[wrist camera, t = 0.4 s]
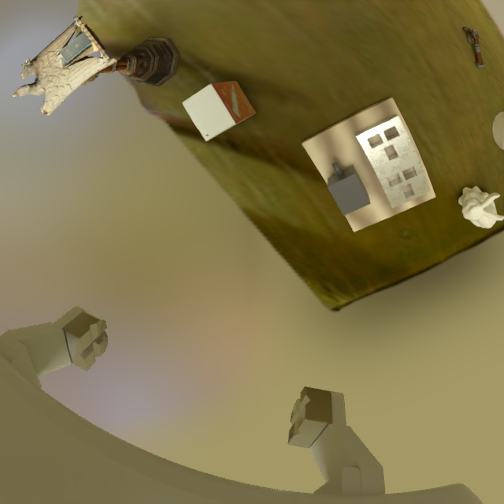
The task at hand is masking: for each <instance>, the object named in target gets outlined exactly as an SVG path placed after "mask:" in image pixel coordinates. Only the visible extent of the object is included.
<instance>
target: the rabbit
mask: <svg viewBox="0 0 504 504" xmlns="http://www.w3.org/2000/svg"><path fill="white" fill-rule="evenodd" d="M499 196H500V195H499V194H498V193H492V194H488V193H487V192H481V190H480V189H479V188H478V187H477V186H474V187H473V188H472V189H471V188H468V187H465V188H464V189H463V195H462V196H461V197H460V198H459V200H458V203H459V204H460V205H462V206H463V209H462V213H463V216H464V218H465V219H469V220H470V221H471V222H472V223H473V224H475V225H476V226H479V227H482V228H491V227H492V226H493V225H494V224H495V222H496V220H502V219H503V218H504V216H500V215H497V212H496V208H495V204H494V202H493V200H494V199H496V198H497V197H499Z"/></svg>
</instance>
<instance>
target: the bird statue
mask: <svg viewBox="0 0 504 504" xmlns="http://www.w3.org/2000/svg"><path fill="white" fill-rule="evenodd" d="M82 17H83V16H81V17H79V18H78V17H77V16H75V17H74V19H75V20H76V21H75V22H74V23H72V24H71V25H70V27H68V28H67V29H66V30H65V31H64V32H63V33H62V34H61V35H59V36H58V37H57V38H56V39H55V40H54V41H52V42H51V43H50V44H49V45H48V46H47V47H46V48H45V49H44V50H42V52H40V53H39V55H37V56H36V57H35V58H34V59H33V60H32V61H30V59H27V60H26V62H25V63H24V64H22V66H24V69H23V70H22V72H21V75H22V78H23V79H25V78H26V77H27V76H28V75H34V76H35V77H36V79H35V82H34V83H32V84H27V85H24V86H21V87H20V88H18V89H17V91H16V92H15V94H14V95H13V97H17V96H22V95H26V94H33V95H36V96H38V95H43V94H45V101H44V104H43V106H42V107H41V111H42V112H43V114H44V115H50V114H51V113H52V112H53V111H54V110H55V109H56V108H58V107H59V105H60V104H61V103H62V102H63V101H64V100H65V99H66V97H68V96H69V95H70V94H71V93H72V92H73V91H74V90H75V89H76V88H77V87H79V86H80V85H85V84H87V83H88V82H90V81H93V80H95V78H97V77H98V74H99V73H113V72H114V71H120V73H121V74H123V75H128V76H129V78H130V79H131V80H132V81H138V82H140V83H141V84H148V85H154V86H159V85H162V84H163V83H164V82H166V81H167V80H168V79H169V78H171V77H172V76H173V75H175V74H176V70H177V65H178V61H179V57H180V53H179V52H178V50H177V49H176V47H175V46H174V44H173V43H172V41H171V40H170V39H166V38H150V37H149V38H148V39H147V40H145V41H144V42H143V43H142V44H138V45H137V46H136V47H135V48H134V49H133V50H132V51H130V53H128V54H125V55H124V56H122V57H121V58H120V60H115V59H113V58H110V57H109V56H108V55H107V54H106V53H105V51H104V50H105V48H104V47H103V46H102V44H101V41H99V38H98V37H97V36H96V34H95V33H94V32H93V31H92V29H90V28H89V27H88V26H87V25H83V23H82V22H81V21H80V20H81V18H82ZM78 27H81V28H82V30H81V31H80V33H79V34H78V35H77V36H76V38H75V39H74V40H73V41H72V42H70V43H69V44H68V42H69V41H70V39H71V37H72V36H73V34H74V33H75V31H76V29H77V28H78ZM94 52H100V53H101V57H100V58H98V57H88V56H87V55H89V54H92V53H94Z"/></svg>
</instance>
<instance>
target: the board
mask: <svg viewBox="0 0 504 504" xmlns="http://www.w3.org/2000/svg"><path fill="white" fill-rule="evenodd" d="M395 114H396V115H398V116H399V118H400V120H401V122H402V124H403V126H404V128H405V130H406V132H407V134H408V136H409V139H410V141H411V143H412V145H413V147H414V150H415V152H416V154H417V157H418V159H419V162H420V164H421V166H422V169H423V171H424V174H425V177H426V179H427V182H428V185H429V188H430V190H431V192H428V193H426V194H424V195H422V196H419V197H417V198H415V199H413V200H410V201H408V202H406V203H403V204H401V205H399V206H397V207H394V208H392V207H391V205H390V202H389V200H388V198H387V196H386V194H385V191H384V189H383V187H382V185H381V183H380V181H379V179H378V177H377V175H376V173H375V171H374V169H373V167H372V165H371V163H370V161H369V159H368V157H367V155H366V153H365V152H364V150H363V148H362V146H361V144H360V143H359V141H358V139H357V137H356V135H355V133H357V132H359V131H361V130H363V129H365V128H367V127H369V126H371V125H374V124H376V123H378V122H380V121H382V120H384V119H386V118H388V117H390V116H393V115H395ZM383 133H384V135H385V137H386V138H387V137H389V136H391V135H393V134H395V133H397V132H396V130H395V128H394V126H393V127H391V128H389V129H387V130H385V131H383ZM380 140H382V139H381V137H380V135H379V134H376V135H374V136H372V137H370V138H368V139H367V141H368V142H369V144H370V145H372V144H374V143H376V142H378V141H380ZM302 145H303V147H304V148H305V150H306V151H307V153H308V154H309V156H310V158H311V159H312V161H313V162H314V164H315V165H316V167H317V169H318V170H319V172H320V173H321V175H322V177H323V178H324V180H325V182H326V183H327V182H328V178H329V177H331V176H333V175H335V174H336V172H335V170H334V169H333V167H332V164H333V163H334V162H337V163H338V164H339V166H340V168H341V170H342V171H343V170H345V169H347V168H349V167H351V166H354V168H355V169H356V171H357V173H358V175H359V177H360V179H361V181H362V182H363V184H364V186H365V188H366V190H367V192H368V195H369V199H370V203H371V204H369V205H367V206H365V207H362V208H360V209H358V210H356V211H353V212H351V213H349V214H347V215H345V216H346V218H347V220H348V222H349V223H350V225H351V227H352V229H353V231H354V232H355V231H358V230H360V229H363V228H365V227H367V226H370V225H372V224H374V223H377V222H379V221H381V220H384V219H386V218H388V217H391V216H393V215H395V214H398V213H400V212H402V211H405V210H407V209H409V208H412V207H414V206H416V205H418V204H421V203H423V202H425V201H427V200H430V199H432V198H434V197H436V196H435V193H434V191H433V188H432V185H431V182H430V179H429V177H428V174H427V171H426V169H425V166H424V164H423V161H422V159H421V156H420V154H419V152H418V149H417V147H416V145H415V142H414V140H413V138H412V136H411V134H410V131H409V129H408V127H407V125H406V123H405V121H404V119H403V117H402V115H401V113H400V111H399V109H398V107H397V105H396V104H395V102H394V100H393V98H392V97H389V98H387V99H384V100H382V101H380V102H378V103H376V104H374V105H372V106H370V107H368V108H366V109H364V110H362V111H360V112H358V113H356V114H354V115H352V116H350V117H348V118H346V119H344V120H342V121H340V122H338V123H336V124H334V125H332V126H330V127H328V128H327V129H325V130H323V131H321V132H319V133H317V134H315V135H314V136H312V137H310V138H308V139H306V140H304V141H303V142H302ZM384 151H385V153H386V155H387V157H388V156H390V155H392V154H394V153H396V152H395V150H394V148H393V146H392V145H390V146H388V147H386V148H384ZM412 171H414V169H413V167H410V168H408V169H406V170H404V171H402V173H403V175H406V174H408V173H410V172H412ZM397 178H399V175H398V173H397V174H395V175H393V176H391V177H388V178H387V180H388V182H390V181H393V180H395V179H397ZM402 190H403V192H404V193H405V192H407V191H409V190H412V189H411V186H410V184H407V185H405V186H403V187H402Z"/></svg>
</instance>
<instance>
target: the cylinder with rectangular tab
mask: <svg viewBox="0 0 504 504" xmlns="http://www.w3.org/2000/svg"><path fill="white" fill-rule="evenodd" d="M493 136H494V139H495V142H496V143H497V145H498V146H499V147H500V148H501V149H503V150H504V111H502V112H500V113H499V114H497V116H496V117H495V119H494V122H493Z"/></svg>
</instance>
